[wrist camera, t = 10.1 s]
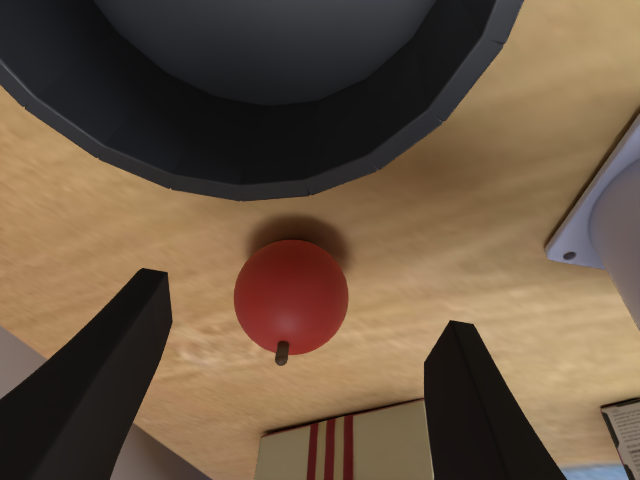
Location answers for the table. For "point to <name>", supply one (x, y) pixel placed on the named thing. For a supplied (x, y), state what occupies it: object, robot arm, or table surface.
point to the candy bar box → (625, 434)
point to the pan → (247, 83)
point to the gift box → (352, 448)
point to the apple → (291, 298)
